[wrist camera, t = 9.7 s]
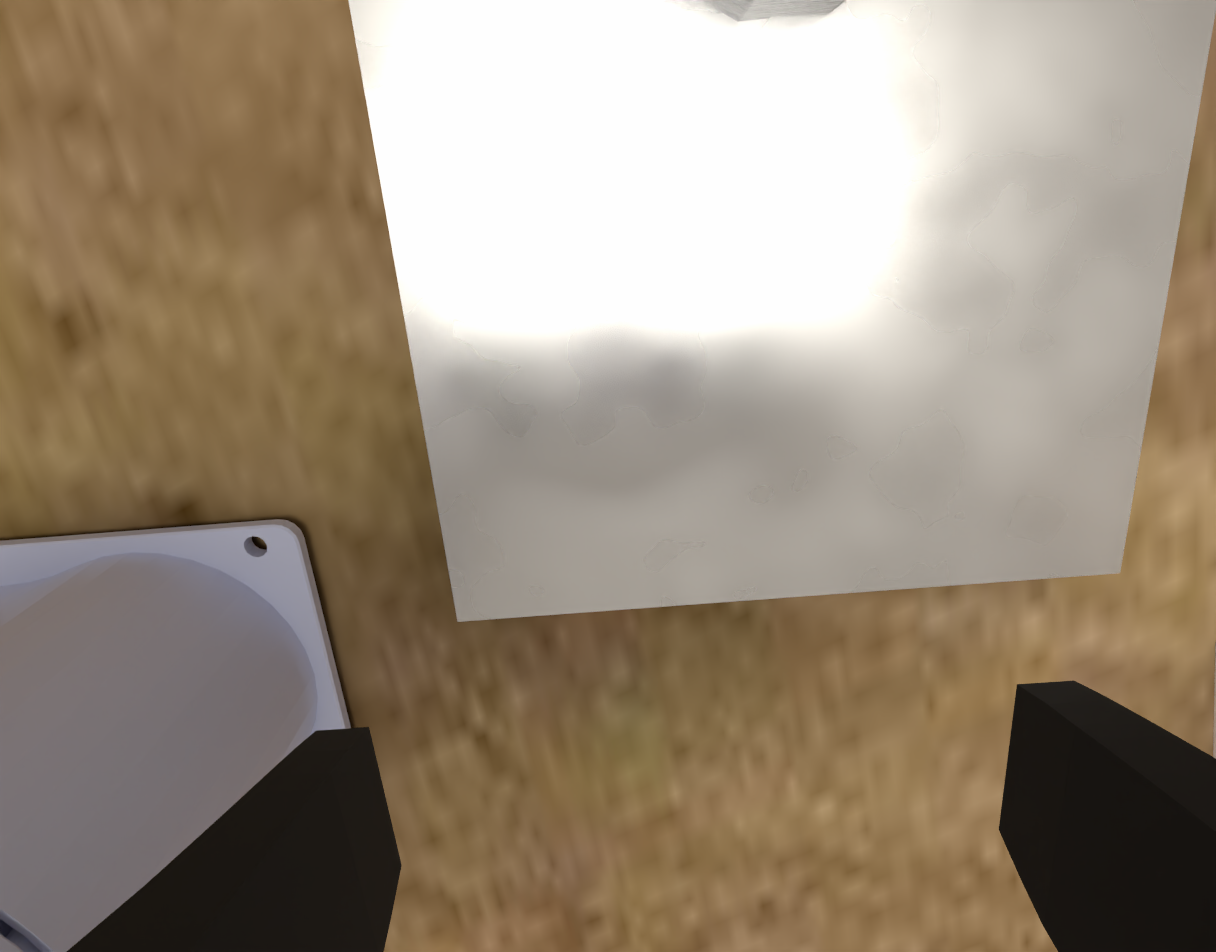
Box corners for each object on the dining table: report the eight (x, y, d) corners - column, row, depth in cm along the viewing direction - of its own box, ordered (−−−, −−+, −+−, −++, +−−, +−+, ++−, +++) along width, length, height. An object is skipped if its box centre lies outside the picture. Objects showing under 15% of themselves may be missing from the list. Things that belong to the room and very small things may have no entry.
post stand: (466, 595, 18) (406, 763, 13) (258, -648, 11) (-82, -1475, 6) (1087, 549, 18) (1299, 702, 12) (1287, -775, 11) (2004, -1806, 5)
